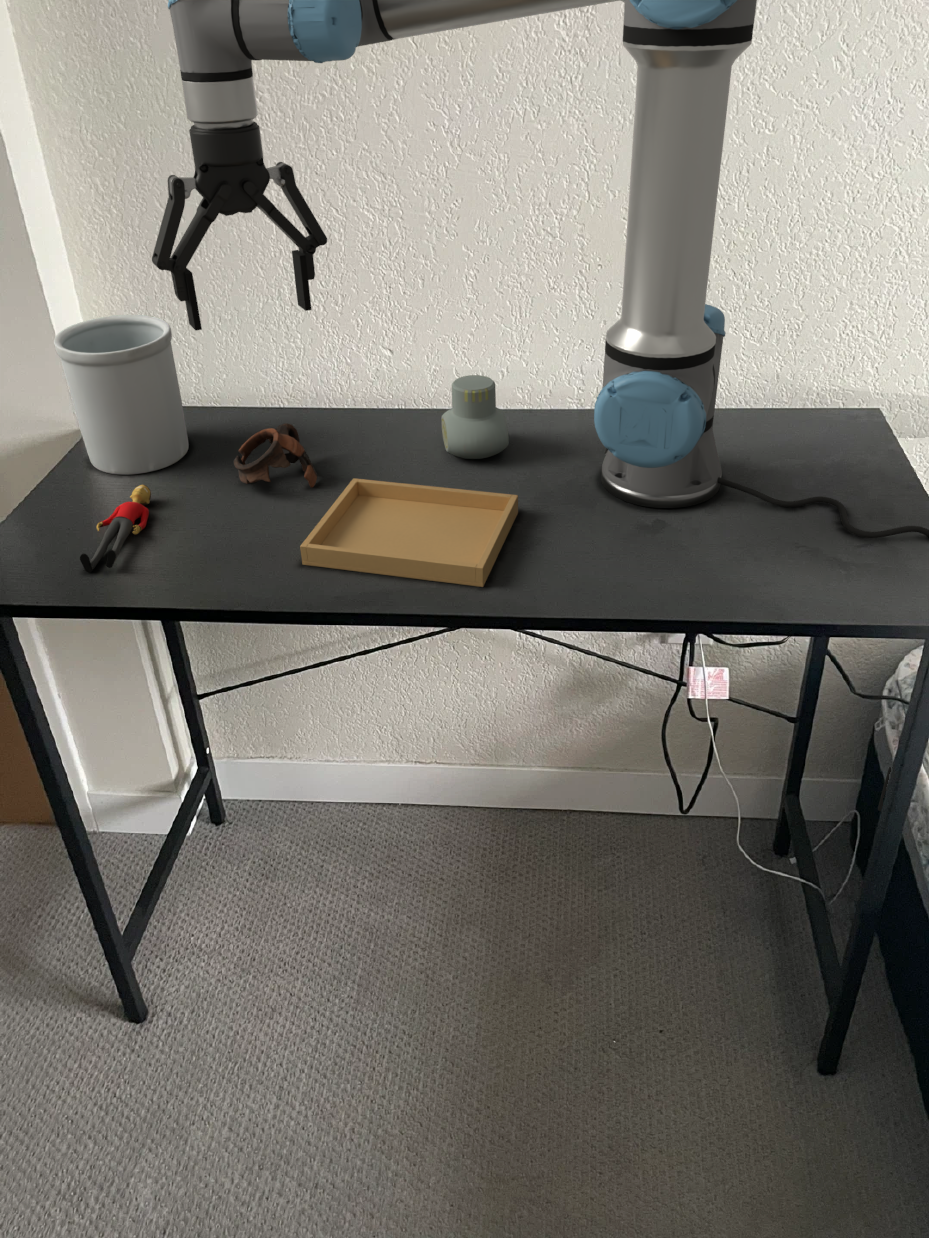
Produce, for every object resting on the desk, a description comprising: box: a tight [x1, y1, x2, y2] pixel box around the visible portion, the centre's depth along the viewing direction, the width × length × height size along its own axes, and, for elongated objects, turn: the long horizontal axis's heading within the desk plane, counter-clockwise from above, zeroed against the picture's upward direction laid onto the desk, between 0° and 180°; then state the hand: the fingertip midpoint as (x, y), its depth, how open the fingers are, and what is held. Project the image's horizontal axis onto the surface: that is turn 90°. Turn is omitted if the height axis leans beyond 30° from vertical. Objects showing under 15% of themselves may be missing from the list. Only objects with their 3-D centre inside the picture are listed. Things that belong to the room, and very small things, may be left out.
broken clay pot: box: [233, 422, 318, 489], centre depth 135 cm, size 12×10×8 cm
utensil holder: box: [53, 314, 190, 476], centre depth 139 cm, size 15×15×18 cm
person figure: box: [79, 484, 152, 574], centre depth 124 cm, size 5×4×18 cm
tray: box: [299, 477, 519, 588], centre depth 122 cm, size 22×18×2 cm
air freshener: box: [441, 374, 510, 460], centre depth 139 cm, size 11×8×10 cm
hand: (251, 317), depth 122 cm, fingers open, 13 cm apart
